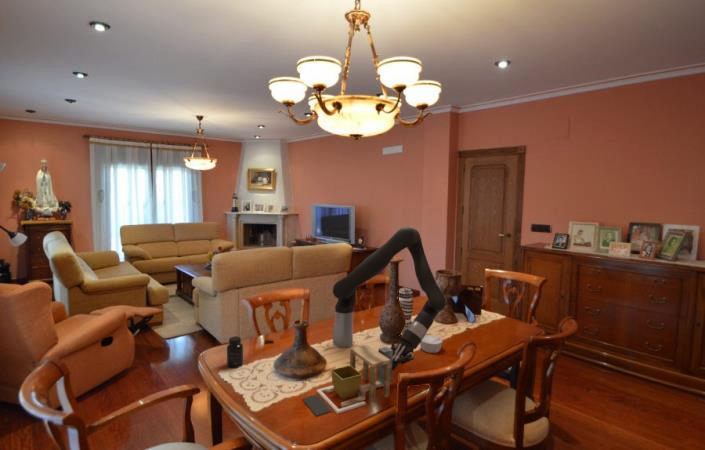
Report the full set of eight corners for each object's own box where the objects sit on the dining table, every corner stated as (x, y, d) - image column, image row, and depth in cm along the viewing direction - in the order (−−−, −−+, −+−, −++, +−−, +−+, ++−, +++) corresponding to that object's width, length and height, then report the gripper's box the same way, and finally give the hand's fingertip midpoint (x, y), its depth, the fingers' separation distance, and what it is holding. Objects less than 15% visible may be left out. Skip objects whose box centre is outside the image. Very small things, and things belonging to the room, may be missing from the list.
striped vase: (414, 332, 207) (416, 288, 205) (408, 337, 199) (410, 291, 197) (399, 329, 212) (400, 285, 210) (392, 334, 204) (394, 289, 202)
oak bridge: (366, 378, 155) (367, 344, 153) (389, 396, 141) (390, 359, 140) (349, 382, 150) (350, 348, 149) (371, 402, 137) (372, 364, 136)
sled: (380, 376, 156) (381, 343, 154) (397, 389, 146) (398, 354, 145) (326, 391, 143) (327, 355, 141) (341, 406, 133) (342, 368, 132)
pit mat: (316, 395, 141) (316, 394, 141) (331, 411, 130) (331, 410, 130) (302, 399, 138) (302, 398, 138) (316, 416, 127) (316, 415, 127)
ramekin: (442, 355, 179) (442, 344, 178) (418, 352, 181) (419, 342, 181) (441, 346, 190) (442, 336, 189) (419, 343, 192) (419, 333, 192)
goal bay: (342, 384, 149) (342, 382, 149) (365, 404, 135) (365, 402, 135) (316, 391, 143) (316, 389, 143) (337, 413, 129) (337, 411, 129)
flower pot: (349, 386, 148) (350, 364, 147) (361, 397, 140) (362, 374, 140) (330, 392, 143) (330, 369, 142) (341, 403, 136) (342, 379, 135)
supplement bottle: (226, 362, 166) (226, 336, 164) (242, 360, 168) (242, 334, 167) (227, 369, 159) (227, 342, 158) (243, 367, 162) (243, 340, 160)
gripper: (399, 324, 160) (375, 357, 155) (420, 334, 149) (395, 371, 143) (408, 334, 163) (385, 367, 158) (429, 345, 152) (405, 381, 147)
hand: (389, 369), depth 151 cm, fingers closed
